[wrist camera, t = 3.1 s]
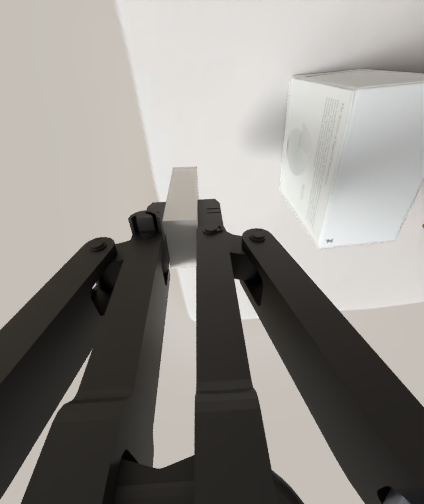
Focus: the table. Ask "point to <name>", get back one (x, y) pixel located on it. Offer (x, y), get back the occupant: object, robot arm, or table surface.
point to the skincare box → (353, 154)
